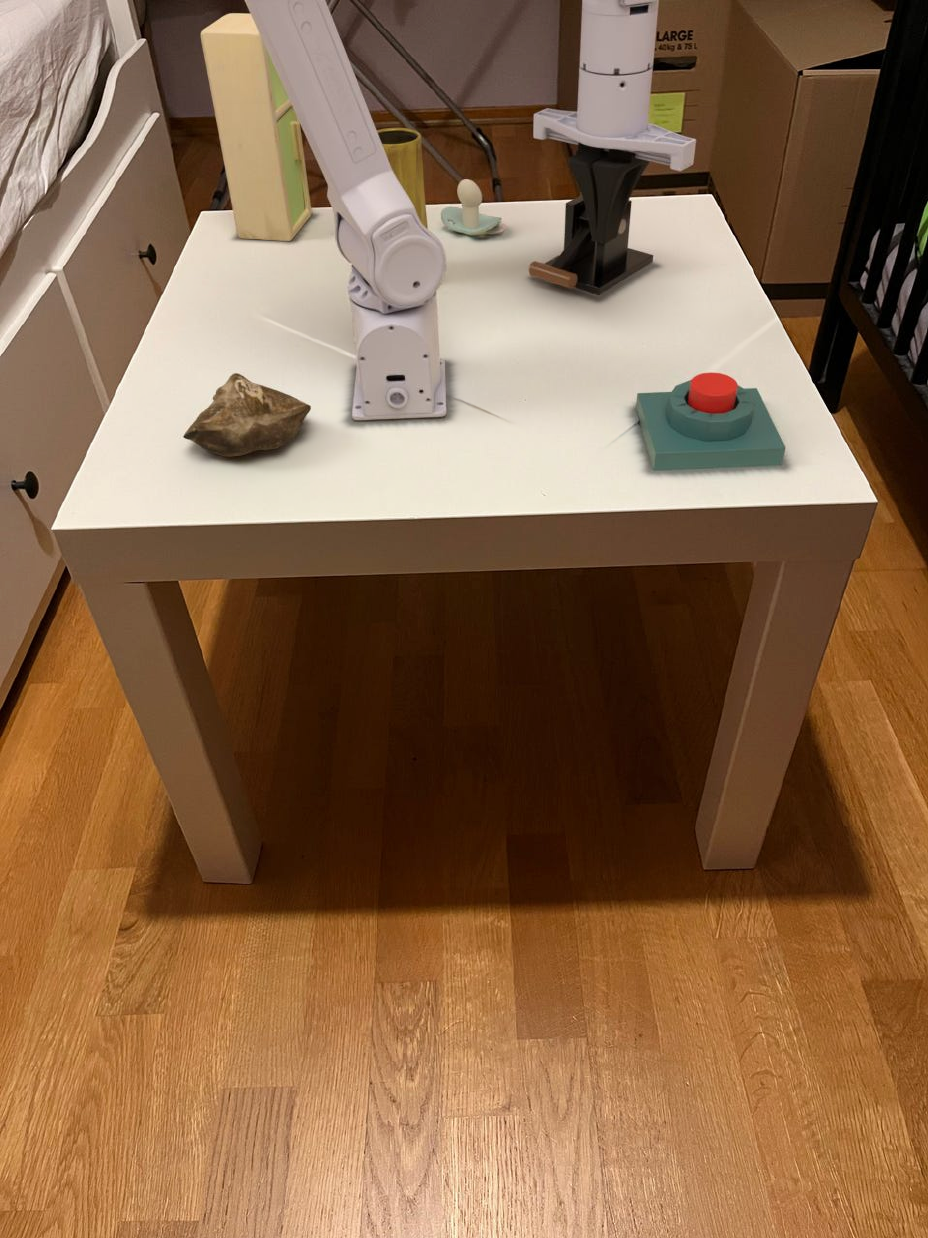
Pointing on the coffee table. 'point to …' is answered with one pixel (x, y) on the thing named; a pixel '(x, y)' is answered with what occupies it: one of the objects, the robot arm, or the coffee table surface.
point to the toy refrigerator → (256, 132)
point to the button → (712, 393)
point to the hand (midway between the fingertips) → (604, 238)
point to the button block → (707, 432)
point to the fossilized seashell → (247, 419)
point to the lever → (564, 259)
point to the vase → (407, 164)
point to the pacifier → (470, 213)
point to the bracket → (601, 253)
